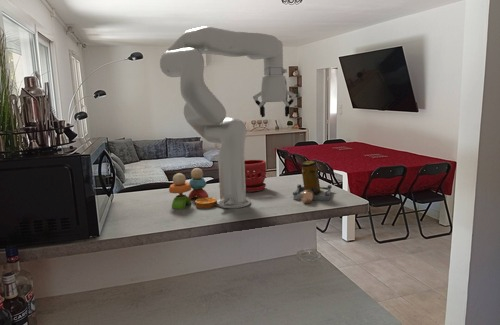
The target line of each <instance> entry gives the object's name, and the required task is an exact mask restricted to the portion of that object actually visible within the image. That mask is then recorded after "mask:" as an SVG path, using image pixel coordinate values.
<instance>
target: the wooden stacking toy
mask: <svg viewBox="0 0 500 325" xmlns="http://www.w3.org/2000/svg"><path fill="white" fill-rule="evenodd" d="M190 177H191V179H190V180H189V182H187V180H186V176H185V174H183V173H181V172H178V173H176V174H174V175H173V177H172V184H170V186H169V188H168V192H169V193H170V194H178V195H175V197H174V198H173V200H172V203H171V209H174V210H184V209H186V205H192V199H194V198H196V200H194V203H195V205H196V207H197V208H198V209H211V208H214V207H216V206H217V205H216V202H217V200H218V199H217V198H216V197H209V194H208V192H207V191H206V190H205V189H204V188H205V187H206V186H207V182H206V180H205V179H204V172H203V170H202V169H201V168H199V167H195V168H193V169H192V170H191V171H190ZM187 192H189V194H188V195H186V194H183V193H187Z"/></svg>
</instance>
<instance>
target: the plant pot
mask: <svg viewBox="0 0 500 325" xmlns="http://www.w3.org/2000/svg"><path fill="white" fill-rule="evenodd" d="M244 161H245V183H246V192H250V193H251V192H258V191H262V190H264V189H265V188H266V186H267V185H266V183H264V182H265V180H266V175H267V163H266V160H264V159H244Z"/></svg>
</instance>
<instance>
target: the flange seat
mask: <svg viewBox="0 0 500 325" xmlns="http://www.w3.org/2000/svg"><path fill="white" fill-rule="evenodd" d="M320 189H326V190H328V191H326V192H325V193H323V194H321V195H314V194H313V192H312V191H311V190H304V186H302V184H297V185H296V189H295V191H293V192H292V195H293V200H297V201H299V200H301V202H302V203H303V204H306V205H307V204H308V205H309V204H310V203H312V201H326V202H327V201H328V202H329V201H330V198H331V193H332V185H331V184H328V185H327V186H320ZM303 191H304V192H303ZM301 192H303V194H301Z"/></svg>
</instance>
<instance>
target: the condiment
mask: <svg viewBox="0 0 500 325" xmlns="http://www.w3.org/2000/svg"><path fill="white" fill-rule="evenodd" d="M301 168H302V170H301V175H302V182H303V187H304V190H311V191H312V192H313V194H314V195H321V194H323V193H325V192H326V191H328V190H326V189H320V187H321V186H320V180H319V170H318V168H317V164H316V161H315V160H307V161H303V162H302V163H301ZM303 192H304V191H303ZM303 192H301V194H303Z"/></svg>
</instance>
